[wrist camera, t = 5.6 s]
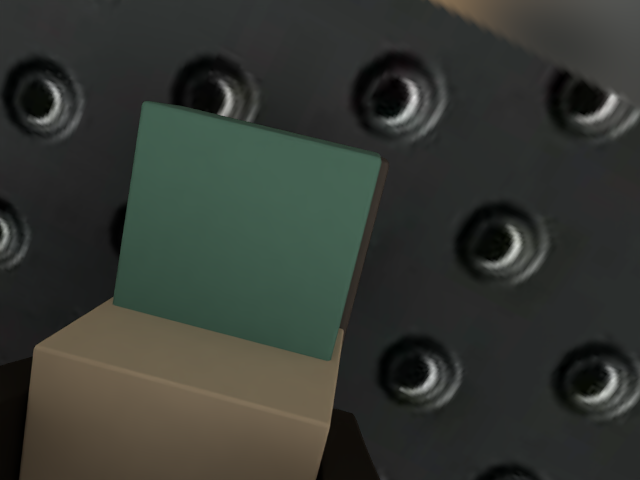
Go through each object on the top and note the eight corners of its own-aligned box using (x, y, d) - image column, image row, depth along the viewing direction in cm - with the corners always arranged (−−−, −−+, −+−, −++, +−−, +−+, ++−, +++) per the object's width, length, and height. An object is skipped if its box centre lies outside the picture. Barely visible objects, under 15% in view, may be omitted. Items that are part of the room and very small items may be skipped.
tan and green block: (276, 591, 13) (224, 839, 8) (116, 545, 13) (-18, 763, 8) (389, 154, 10) (403, 168, 6) (191, 106, 11) (56, 84, 6)
